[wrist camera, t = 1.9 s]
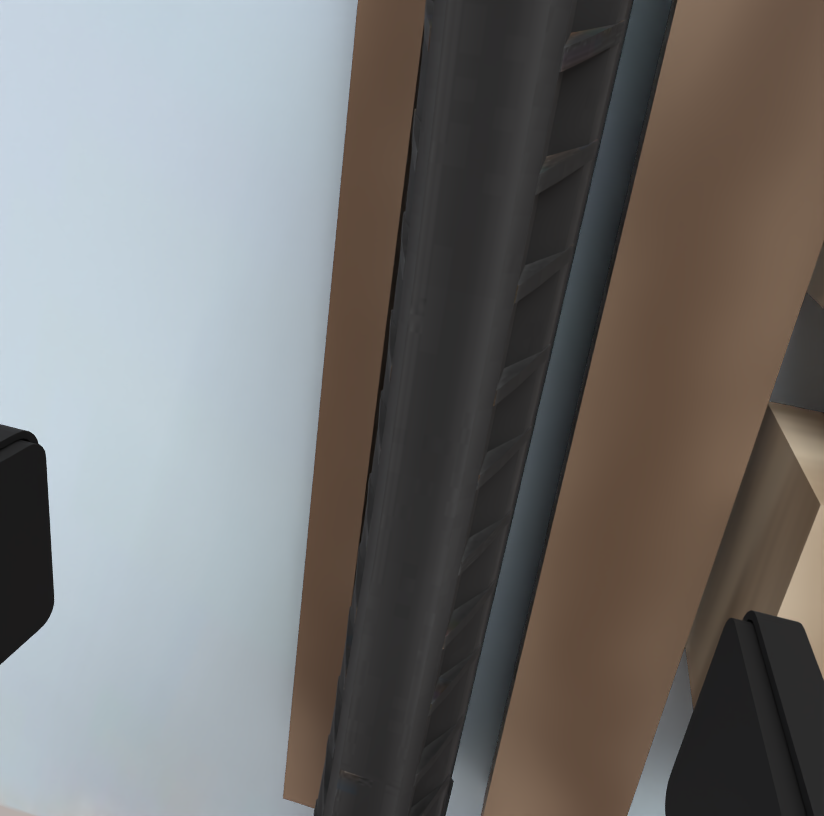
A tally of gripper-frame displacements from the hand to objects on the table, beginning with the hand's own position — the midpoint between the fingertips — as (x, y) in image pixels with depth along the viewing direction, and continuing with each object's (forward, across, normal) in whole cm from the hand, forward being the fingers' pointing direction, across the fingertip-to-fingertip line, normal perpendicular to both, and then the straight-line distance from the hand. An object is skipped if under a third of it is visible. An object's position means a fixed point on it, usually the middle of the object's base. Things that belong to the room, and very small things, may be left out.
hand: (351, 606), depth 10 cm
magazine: (+13, 0, 0) cm, 13 cm away
